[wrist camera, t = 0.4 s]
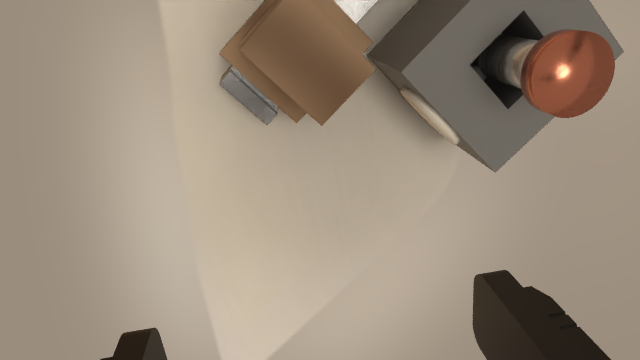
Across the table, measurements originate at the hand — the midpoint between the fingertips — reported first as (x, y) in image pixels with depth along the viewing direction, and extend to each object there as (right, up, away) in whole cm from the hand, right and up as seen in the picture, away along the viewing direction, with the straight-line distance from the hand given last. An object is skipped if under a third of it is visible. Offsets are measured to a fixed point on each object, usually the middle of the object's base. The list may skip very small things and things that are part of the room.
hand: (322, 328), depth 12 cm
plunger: (+11, +11, +17) cm, 23 cm away
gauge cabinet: (+10, +13, +22) cm, 28 cm away
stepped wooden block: (-2, +13, +20) cm, 24 cm away
